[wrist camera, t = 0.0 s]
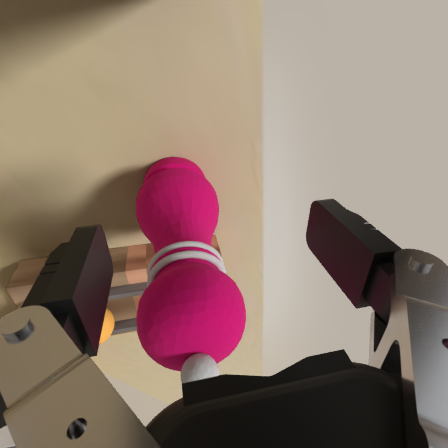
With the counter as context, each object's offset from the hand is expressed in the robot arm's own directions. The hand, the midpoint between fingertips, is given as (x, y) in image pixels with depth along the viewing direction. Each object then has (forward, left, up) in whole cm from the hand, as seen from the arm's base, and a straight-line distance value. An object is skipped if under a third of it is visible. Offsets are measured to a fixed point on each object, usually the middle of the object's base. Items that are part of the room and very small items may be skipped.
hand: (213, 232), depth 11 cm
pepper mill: (+7, -1, -17) cm, 19 cm away
